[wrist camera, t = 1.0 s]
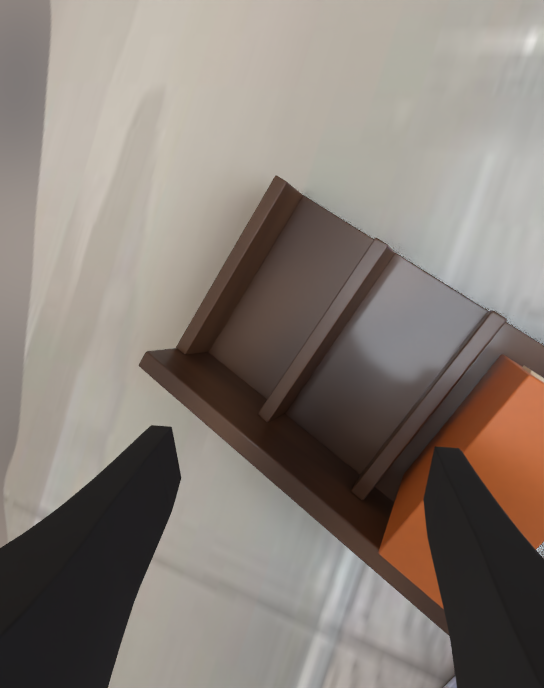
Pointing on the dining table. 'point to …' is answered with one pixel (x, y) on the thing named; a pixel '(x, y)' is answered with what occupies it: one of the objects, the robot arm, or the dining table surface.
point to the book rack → (333, 366)
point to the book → (478, 466)
